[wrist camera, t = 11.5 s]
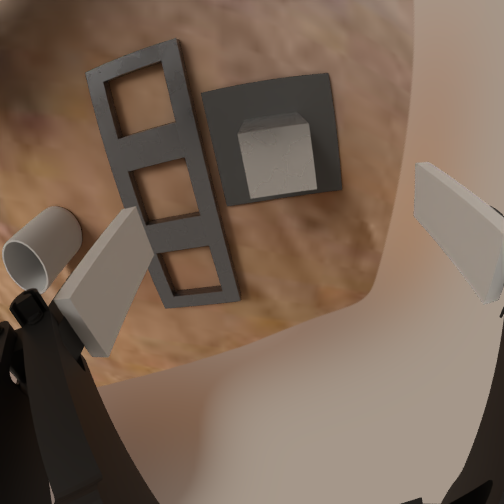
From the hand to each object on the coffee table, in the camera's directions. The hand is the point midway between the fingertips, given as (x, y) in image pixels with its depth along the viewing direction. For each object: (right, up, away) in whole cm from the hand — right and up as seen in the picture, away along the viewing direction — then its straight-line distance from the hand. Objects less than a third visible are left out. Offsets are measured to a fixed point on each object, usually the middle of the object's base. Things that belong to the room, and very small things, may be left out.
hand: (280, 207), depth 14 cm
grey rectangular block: (+1, +9, +15) cm, 17 cm away
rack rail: (-10, +5, +18) cm, 21 cm away
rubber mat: (+1, +9, +15) cm, 18 cm away
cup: (-26, 0, +22) cm, 34 cm away
